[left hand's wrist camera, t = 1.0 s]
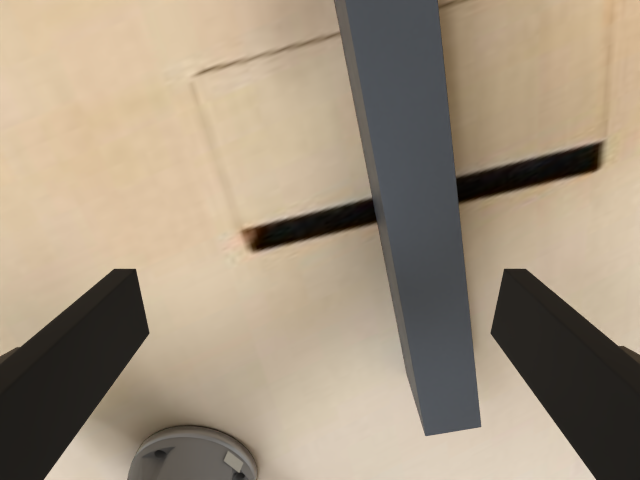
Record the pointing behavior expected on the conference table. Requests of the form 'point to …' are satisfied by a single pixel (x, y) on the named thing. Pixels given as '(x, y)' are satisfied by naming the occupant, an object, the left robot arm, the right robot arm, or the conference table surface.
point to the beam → (415, 197)
